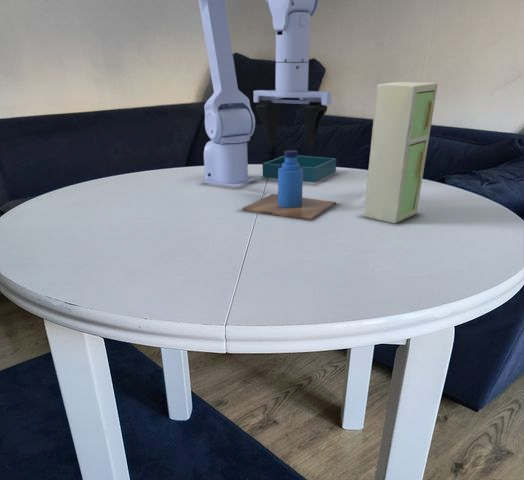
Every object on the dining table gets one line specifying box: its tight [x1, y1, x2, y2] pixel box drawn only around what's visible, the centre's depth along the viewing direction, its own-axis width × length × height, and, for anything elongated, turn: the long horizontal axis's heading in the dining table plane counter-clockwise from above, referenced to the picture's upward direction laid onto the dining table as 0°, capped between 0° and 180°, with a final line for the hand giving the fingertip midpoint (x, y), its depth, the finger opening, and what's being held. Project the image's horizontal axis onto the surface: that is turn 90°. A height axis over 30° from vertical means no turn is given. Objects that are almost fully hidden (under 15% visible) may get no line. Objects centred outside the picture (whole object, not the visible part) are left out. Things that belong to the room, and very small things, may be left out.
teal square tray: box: [262, 155, 337, 183], centre depth 115 cm, size 13×13×4 cm
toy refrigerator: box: [363, 81, 438, 224], centre depth 82 cm, size 8×7×21 cm
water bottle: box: [277, 149, 304, 208], centre depth 90 cm, size 5×5×10 cm
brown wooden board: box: [242, 193, 336, 221], centre depth 93 cm, size 14×12×1 cm
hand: (290, 147), depth 90 cm, fingers open, 7 cm apart
